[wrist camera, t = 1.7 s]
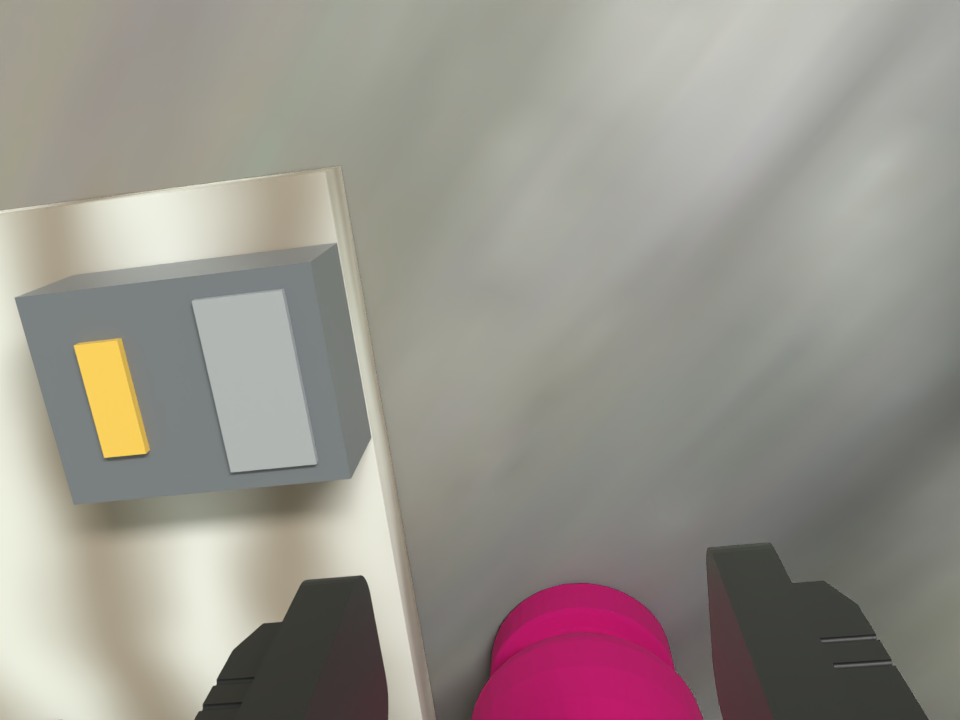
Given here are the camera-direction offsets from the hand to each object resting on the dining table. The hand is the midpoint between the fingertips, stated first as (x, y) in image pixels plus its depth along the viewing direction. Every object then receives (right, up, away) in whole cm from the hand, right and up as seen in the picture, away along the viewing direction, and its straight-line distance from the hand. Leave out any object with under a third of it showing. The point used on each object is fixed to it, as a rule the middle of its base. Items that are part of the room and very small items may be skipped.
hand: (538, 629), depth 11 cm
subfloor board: (-12, -3, +20) cm, 23 cm away
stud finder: (-8, +3, +15) cm, 18 cm away
